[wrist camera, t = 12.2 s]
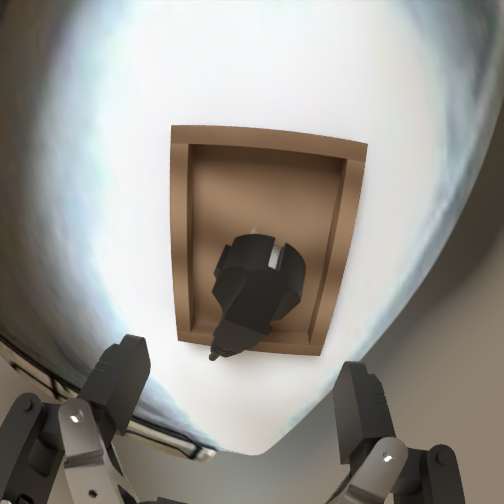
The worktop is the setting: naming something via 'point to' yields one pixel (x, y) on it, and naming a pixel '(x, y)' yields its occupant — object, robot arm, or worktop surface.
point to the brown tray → (261, 220)
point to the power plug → (254, 290)
